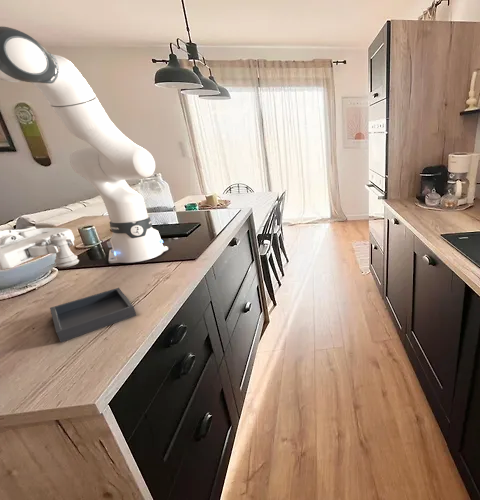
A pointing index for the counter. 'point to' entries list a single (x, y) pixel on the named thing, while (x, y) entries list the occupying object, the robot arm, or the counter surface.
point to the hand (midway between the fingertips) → (65, 245)
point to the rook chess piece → (63, 251)
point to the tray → (91, 313)
